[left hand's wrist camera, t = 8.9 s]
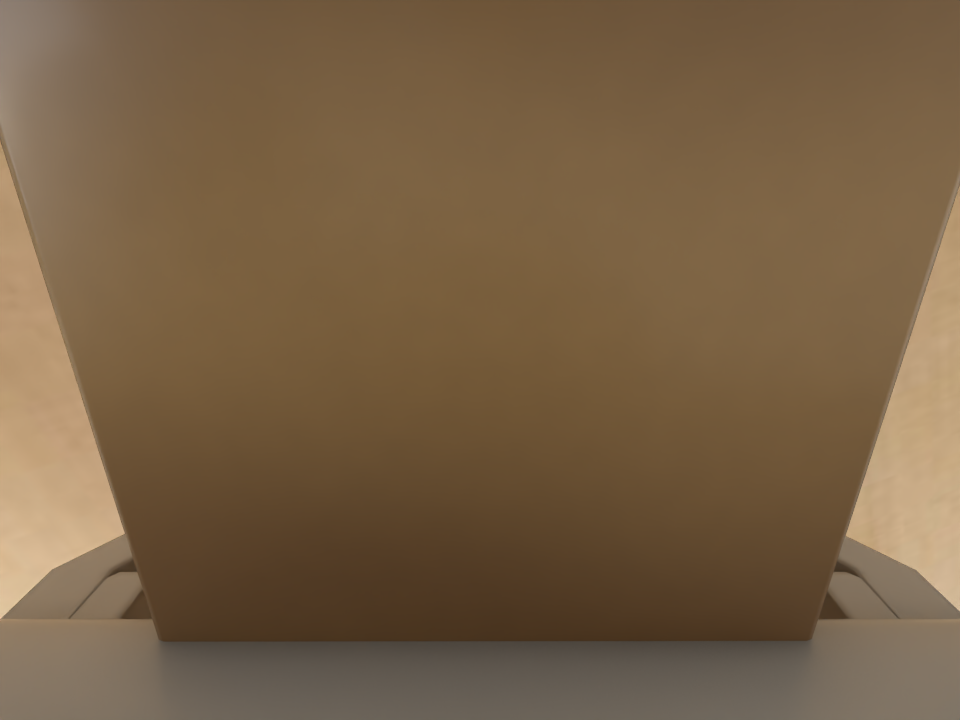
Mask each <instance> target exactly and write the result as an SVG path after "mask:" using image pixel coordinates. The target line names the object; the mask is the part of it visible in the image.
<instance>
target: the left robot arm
mask: <svg viewBox="0 0 960 720" xmlns="http://www.w3.org/2000/svg"><path fill="white" fill-rule="evenodd" d="M0 720H960V612H959V611H958V610H957V609H956V608H955V607H954V606H953V605H952V604H951V603H950V602H949V601H948V600H947V599H946V598H945V597H944V596H943V595H942V594H941V593H939V592H938V591H937V590H936V589H935V588H934V587H933V586H932V585H931V584H930V583H929V582H928V581H927V580H926V579H925V578H924V577H923V576H922V575H921V574H919V573H918V572H917V571H916V570H914V569H912V568H910V567H908V566H906V565H904V564H902V563H900V562H898V561H896V560H894V559H892V558H890V557H888V556H886V555H883V554H881V553H879V552H877V551H875V550H873V549H871V548H869V547H867V546H865V545H863V544H861V543H859V542H857V541H855V540H853V539H851V538H849V537H847V536H845V538H844V541H843V544H842V548H841V551H840V554H839V557H838V560H837V563H836V566H835V569H834V572H833V575H832V578H831V581H830V584H829V587H828V591H827V594H826V597H825V600H824V603H823V606H822V609H821V612H820V615H819V618H818V621H817V624H816V627H815V630H814V634H813V637H812V639H810V640H808V641H316V642H163V641H161V640H159V639H158V636H157V633H156V629H155V626H154V623H153V620H152V617H151V614H150V611H149V607H148V604H147V601H146V598H145V595H144V592H143V588H142V585H141V582H140V579H139V576H138V573H137V570H136V566H135V563H134V560H133V557H132V554H131V551H130V547H129V544H128V541H127V538H126V535H125V534H124V535H122V536H120V537H118V538H116V539H114V540H112V541H110V542H108V543H106V544H103V545H101V546H99V547H97V548H95V549H93V550H91V551H89V552H87V553H85V554H83V555H81V556H79V557H77V558H75V559H73V560H71V561H69V562H67V563H65V564H63V565H61V566H59V567H57V568H55V569H53V570H51V571H50V572H49V573H48V574H47V575H46V576H45V577H44V578H43V579H42V580H41V581H40V582H39V583H38V584H37V585H36V586H35V587H34V588H33V589H32V590H30V591H29V592H28V593H27V594H26V595H25V596H24V597H23V598H22V599H21V600H20V601H19V602H18V603H17V604H16V605H15V606H14V607H13V608H12V609H11V610H10V611H9V612H8V613H7V614H5V615H4V616H3V617H2V618H1V619H0Z"/></svg>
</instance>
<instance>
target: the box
mask: <svg viewBox="0 0 960 720" xmlns="http://www.w3.org/2000/svg"><path fill="white" fill-rule="evenodd" d="M0 141H1V144H2V147H3V151H4V154H5V157H6V160H7V163H8V166H9V169H10V173H11V176H12V179H13V182H14V185H15V188H16V191H17V195H18V198H19V201H20V204H21V207H22V210H23V214H24V217H25V220H26V223H27V226H28V229H29V232H30V236H31V239H32V242H33V245H34V248H35V251H36V254H37V258H38V261H39V264H40V267H41V270H42V273H43V277H44V280H45V283H46V286H47V289H48V292H49V295H50V299H51V302H52V305H53V308H54V311H55V314H56V317H57V321H58V324H59V327H60V330H61V333H62V336H63V340H64V343H65V346H66V349H67V352H68V355H69V358H70V362H71V365H72V368H73V371H74V374H75V377H76V381H77V384H78V387H79V390H80V393H81V396H82V399H83V403H84V406H85V409H86V412H87V415H88V418H89V421H90V425H91V428H92V431H93V434H94V437H95V440H96V444H97V447H98V450H99V453H100V456H101V459H102V462H103V466H104V469H105V472H106V475H107V478H108V481H109V484H110V488H111V491H112V494H113V497H114V500H115V503H116V507H117V510H118V513H119V516H120V519H121V522H122V525H123V529H124V532H125V535H126V538H127V541H128V544H129V547H130V551H131V554H132V557H133V560H134V563H135V566H136V570H137V573H138V576H139V579H140V582H141V585H142V588H143V592H144V595H145V598H146V601H147V604H148V607H149V611H150V614H151V617H152V620H153V623H154V626H155V629H156V633H157V636H158V639H159V640H161V641H163V642H316V641H808V640H810V639H812V637H813V634H814V630H815V627H816V624H817V621H818V618H819V615H820V612H821V609H822V606H823V603H824V600H825V597H826V594H827V591H828V587H829V584H830V581H831V578H832V575H833V572H834V569H835V566H836V563H837V560H838V557H839V554H840V551H841V548H842V544H843V541H844V538H845V535H846V532H847V529H848V526H849V523H850V520H851V517H852V514H853V511H854V508H855V505H856V501H857V498H858V495H859V492H860V489H861V486H862V483H863V480H864V477H865V474H866V471H867V468H868V465H869V462H870V458H871V455H872V452H873V449H874V446H875V443H876V440H877V437H878V434H879V431H880V428H881V425H882V422H883V419H884V415H885V412H886V409H887V406H888V403H889V400H890V397H891V394H892V391H893V388H894V385H895V382H896V379H897V376H898V373H899V369H900V366H901V363H902V360H903V357H904V354H905V351H906V348H907V345H908V342H909V339H910V336H911V333H912V330H913V326H914V323H915V320H916V317H917V314H918V311H919V308H920V305H921V302H922V299H923V296H924V293H925V290H926V287H927V283H928V280H929V277H930V274H931V271H932V268H933V265H934V262H935V259H936V256H937V253H938V250H939V247H940V244H941V240H942V237H943V234H944V231H945V228H946V225H947V222H948V219H949V216H950V213H951V210H952V207H953V204H954V201H955V197H956V194H957V191H958V188H959V185H960V0H0Z"/></svg>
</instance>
